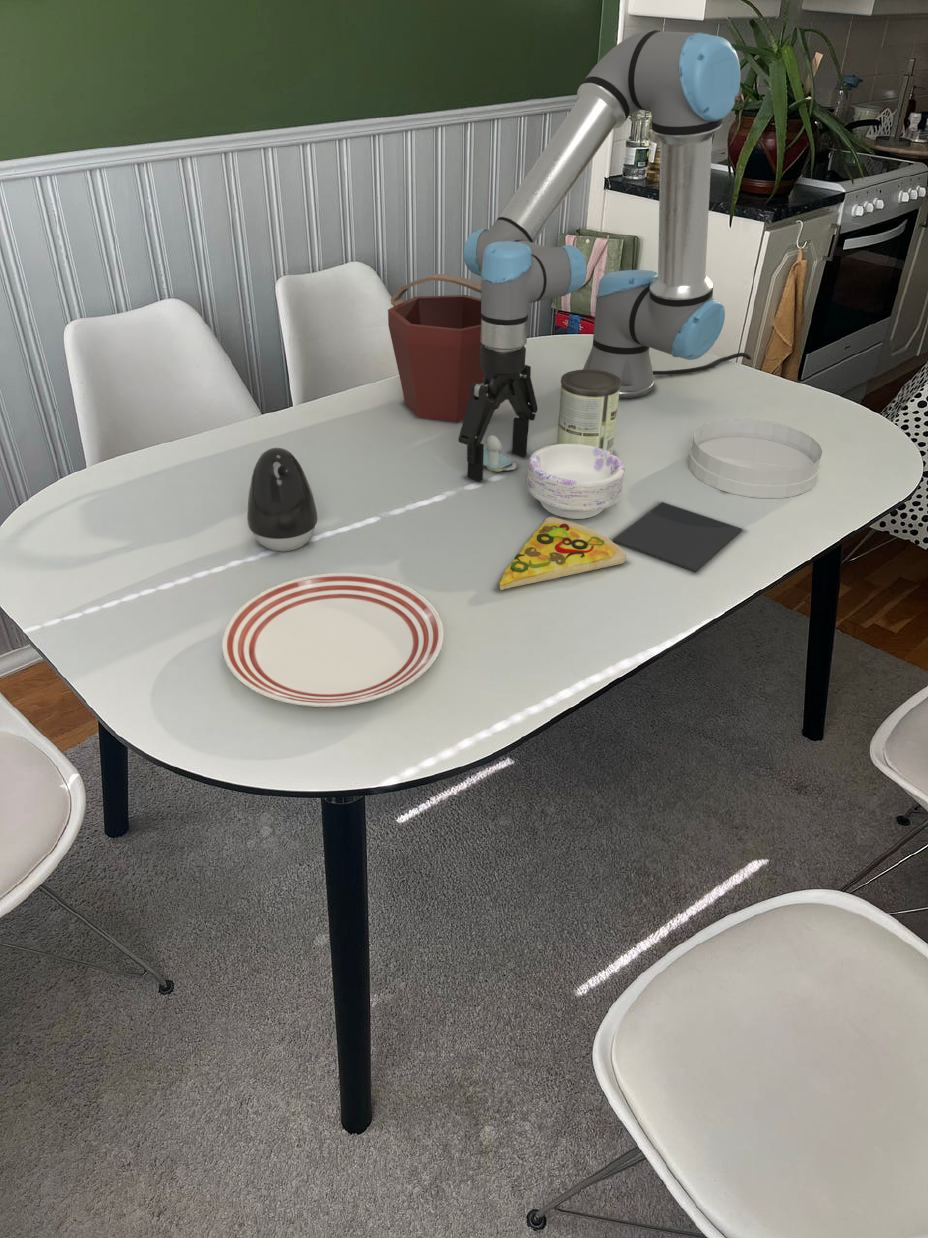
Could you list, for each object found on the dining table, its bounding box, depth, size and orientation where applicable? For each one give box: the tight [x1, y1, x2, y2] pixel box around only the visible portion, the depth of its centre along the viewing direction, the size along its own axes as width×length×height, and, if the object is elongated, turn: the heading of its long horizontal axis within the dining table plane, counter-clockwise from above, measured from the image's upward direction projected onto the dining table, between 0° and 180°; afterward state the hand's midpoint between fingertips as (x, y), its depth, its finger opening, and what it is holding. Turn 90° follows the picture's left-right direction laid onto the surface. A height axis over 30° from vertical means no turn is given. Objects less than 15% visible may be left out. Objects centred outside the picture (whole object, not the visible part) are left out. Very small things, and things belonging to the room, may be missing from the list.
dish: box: [687, 418, 823, 499], centre depth 165 cm, size 22×22×5 cm
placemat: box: [612, 501, 743, 573], centre depth 146 cm, size 16×14×1 cm
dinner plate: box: [221, 572, 445, 708], centre depth 119 cm, size 27×27×3 cm
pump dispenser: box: [246, 447, 318, 552], centre depth 138 cm, size 10×10×15 cm
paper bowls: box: [526, 443, 626, 520], centre depth 151 cm, size 15×15×8 cm
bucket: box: [387, 273, 490, 423], centre depth 181 cm, size 24×22×25 cm
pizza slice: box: [499, 516, 627, 591], centre depth 137 cm, size 16×21×3 cm
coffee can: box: [556, 369, 621, 454], centre depth 166 cm, size 10×10×14 cm
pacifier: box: [483, 434, 518, 472], centre depth 163 cm, size 7×6×6 cm
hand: (497, 466), depth 165 cm, fingers open, 12 cm apart
